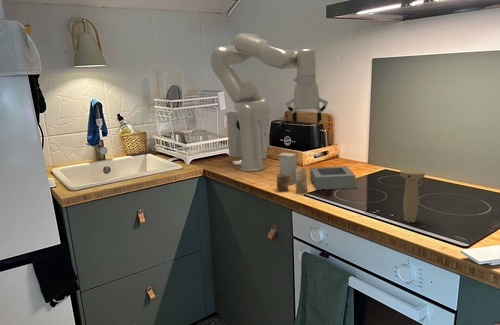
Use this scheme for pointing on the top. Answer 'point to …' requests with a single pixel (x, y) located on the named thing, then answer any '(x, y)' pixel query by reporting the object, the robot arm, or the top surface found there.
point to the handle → (411, 193)
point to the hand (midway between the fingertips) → (306, 122)
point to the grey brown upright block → (301, 180)
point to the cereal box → (235, 135)
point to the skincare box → (288, 166)
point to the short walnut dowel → (282, 182)
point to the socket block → (332, 177)
